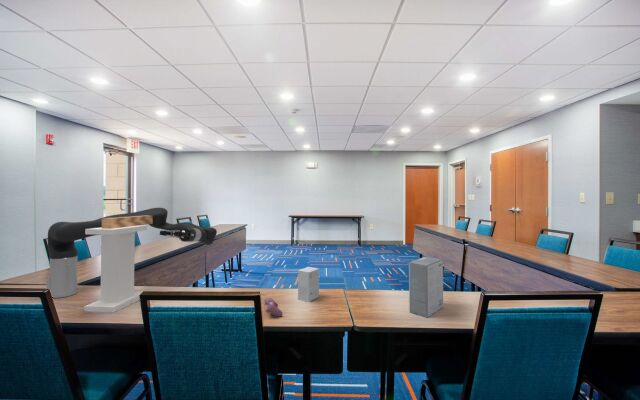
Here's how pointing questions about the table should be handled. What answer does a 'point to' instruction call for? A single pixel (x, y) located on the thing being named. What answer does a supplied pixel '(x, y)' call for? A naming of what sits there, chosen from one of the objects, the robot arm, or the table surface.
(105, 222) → the baton
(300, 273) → the small box
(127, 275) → the plinth
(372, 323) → the table surface
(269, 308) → the purple toy animal
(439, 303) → the hard drive box
